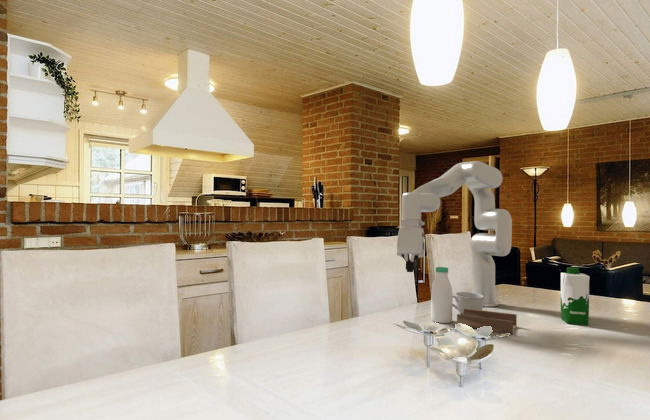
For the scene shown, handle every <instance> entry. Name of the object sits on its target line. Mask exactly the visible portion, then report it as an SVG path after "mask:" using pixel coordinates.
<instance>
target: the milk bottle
mask: <svg viewBox="0 0 650 420" xmlns="http://www.w3.org/2000/svg"><path fill="white" fill-rule="evenodd" d="M430 292H431V293H430V294H431V295H430V297H431V298H430V320H431V321H432V322H434V323H438V322H439V323H438V324H450V323H452V322H453V306H452V303H453V298H452V295H453V287H452V284H451V281H450V279H449V267H446V266H436V267H435V278H434V281H433V283H432V285H431V291H430Z"/></svg>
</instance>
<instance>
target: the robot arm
mask: <svg viewBox="0 0 650 420" xmlns="http://www.w3.org/2000/svg"><path fill="white" fill-rule="evenodd" d="M502 183H503V174H502V172H501V171H500V170H499V169H498V168H496V167H495V166H492V165H489V164H488V163H485V162H482V161H478V160H473V161H472V160H471V161H464V162H459V163H456V164H455V165H453V166H452V167H451V168H450V169H448V170H447V171H446V172H444V173H443V174H442V175H441V176H439V177H438V178H435V179H433V180H431V181H428V182H426V183H424V184H423V185H420V186H419V187H417V188H416V189H414V190H413V191H412V192H411V191H410V192H409V191H408V192H404V193H402V195H401V215H400V217H401V218H400V219H401V220H400V227H399V230H398V232H397V233H398V234H397V238H396V239H397V241H396V250H397V251H396V256H398V257H402V259H404V261H405V270H406V273H412V272H414V270H415V265H416V264H415V263H416V261H417V260H418V259H419V258H424V257H425V252H426V243H425V242H426V240H425V232H424V231H425V230H424V228H423V227H422V226H425V223H426V222H425V221H422V213H430V212H433V213H434V212H436V211H437V210H439V208H440V206H441V199H440V198H444V197H447V196H450V195H452V194H454V193H455V192H456V191H457V190H459V188H461V187H462V186H463V185H465V187H467V188H468V190H469V192H471V194H472V195H473V198H474V218H473V221H474V226H475V228H476V229H477V230H480V231H481V230H482V231H492V232H493V231H495V233H487V232H479V233H475V234H474V235H472V237H471V238H470V241H469V244H470V245H469V246H470V251H471V252H470V253H471V259H472V269H471V271H472V277H471V279H472V280H471V281H472V282H471V283H472V284H471V285H472V290H471V291H472V292H473V293H478V294H481V295H483V296H484V297H483V307H488V308H491V307H497V306H500V305H499V304H500V302H499V301H497V300H496V263H495V260H494V259H493V257H492V256H497V257H505V256H507V255H509V254H510V252H511V249H512V242H513V241H512V237H513V235H512V232H513V218H512V216H511V213H510V212H509V211H508V210H507V209H504V208H496V201H495V200H496V198H495V195H494V193H493V192H492V190H491V189H497V188H499V187H500V186H501V185H502ZM410 254H411V255H410Z"/></svg>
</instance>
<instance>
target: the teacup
mask: <svg viewBox="0 0 650 420" xmlns="http://www.w3.org/2000/svg"><path fill="white" fill-rule="evenodd" d="M483 297H484V296H483V295H481V294H478V293H473V292H470V291H457V292H455V294H452V299H453V298H454V299H455V301H454V303H453V302H452V308H453V307H454V309H455V310H457V311H458V312H459V313H460V315H464V308H466V309H474V310H483V307H484V306H483Z"/></svg>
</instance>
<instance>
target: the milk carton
mask: <svg viewBox="0 0 650 420" xmlns="http://www.w3.org/2000/svg"><path fill="white" fill-rule="evenodd" d="M590 277H591V276H589V275H587V274H585V273H581V272H580V268H579V267H571V266H570V267H566V271H565V272H560V316H561V320H562V321H563V322H564V321H565V322H564V323H566V324H567V325H580V326H589V321H590V320H589V319H590V318H589V316H590Z"/></svg>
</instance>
